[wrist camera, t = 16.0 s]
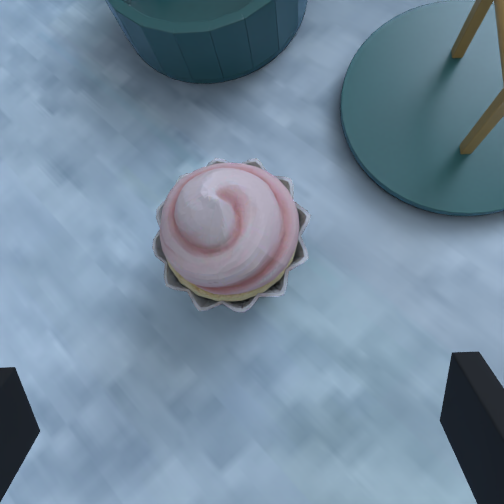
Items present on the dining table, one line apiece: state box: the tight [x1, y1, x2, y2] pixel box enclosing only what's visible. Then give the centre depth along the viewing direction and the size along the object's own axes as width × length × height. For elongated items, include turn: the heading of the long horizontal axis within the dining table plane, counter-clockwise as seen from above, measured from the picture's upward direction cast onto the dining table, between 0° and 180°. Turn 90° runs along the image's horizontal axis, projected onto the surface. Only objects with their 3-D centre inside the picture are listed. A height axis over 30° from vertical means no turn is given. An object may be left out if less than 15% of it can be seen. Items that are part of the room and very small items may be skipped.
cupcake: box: [152, 158, 311, 313], centre depth 25 cm, size 9×9×10 cm
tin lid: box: [340, 0, 504, 216], centre depth 26 cm, size 16×16×9 cm
